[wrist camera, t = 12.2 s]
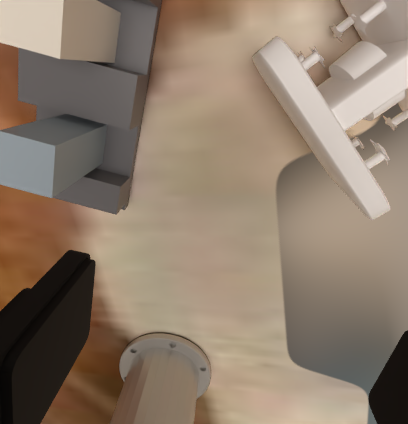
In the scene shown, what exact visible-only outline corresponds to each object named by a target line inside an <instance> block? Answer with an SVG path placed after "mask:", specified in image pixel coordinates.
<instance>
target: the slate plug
mask: <svg viewBox="0 0 408 424" xmlns="http://www.w3.org/2000/svg"><path fill="white" fill-rule="evenodd" d="M106 131H107V124H103V123H99V122H96V121H92V120H88V119H85V118H81V117H77V116H74V115H70V114H63V115H59V116H55V117H51V118H47V119H43V120H39V121H35V122H31V123H27V124H23V125H19V126H15V127H11V128H7V129H3V130H0V184H1V185H4V186H8V187H12V188H16V189H19V190H23V191H27V192H31V193H34V194H38V195H42V196H46V197H49V198H53V197H54V196H56V195H57V194H59V193H60V192H62V191H63V190H65V189H66V188H67V187H69V186H70V185H72V184H73V183H75V182H76V181H78V180H79V179H80V178H82V177H83V176H85V175H86V174H88V173H89V172H91V171H92V170H93V169H95V168H96V167H98V166H99V165H101V164H102V163H103V155H104V147H105V139H106Z"/></svg>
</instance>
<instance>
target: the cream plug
mask: <svg viewBox="0 0 408 424" xmlns="http://www.w3.org/2000/svg"><path fill="white" fill-rule="evenodd" d="M120 16H121V13H120V12H118V11H116V10H115V9H113V8H111V7H109V6H107V5H105V4H103V3H101V2H99V1H97V0H0V43H4V44H8V45H11V46H15V47H19V48H22V49H26V50H29V51H33V52H37V53H40V54H44V55H48V56H51V57H55V58H58V59H68V60H81V61H95V62H109V63H115V56H116V48H117V40H118V32H119V24H120Z"/></svg>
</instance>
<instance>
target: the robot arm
mask: <svg viewBox="0 0 408 424" xmlns="http://www.w3.org/2000/svg"><path fill="white" fill-rule="evenodd" d="M94 275H95V261H94V260H91V259H90V255H89V254H87V253H82V252H78V251H73V250H69V251H67V252H66V253H65V254H64V255H63V257H62V258H61V259H60V260H59V261H58V262H57V263H56V264H55V265H54V266H53V267H52V268H51V269H50V270H49V271H48V272H47V273H46V274H45V275H44V276H43V277H42V278H41V279H40V280H39V281H38V282H37V283H36V284H35V285H34V286H33V287H32V288H31V289H30V288H26V289H23V290H22V291H21V292H19V293H18V294H17V295H16V296H15V297H14V298H13V299H12V300H11V301H10V302H9V303H8V304H7V305H6V306H5V307H4V308H3V309H2V310H1V311H0V424H40V423H41V421H42V419H43V418H44V416H45V414H46V412H47V411H48V409H49V407H50V405H51V403H52V402H53V400H54V398H55V396H56V395H57V393H58V391H59V389H60V387H61V386H62V384H63V382H64V380H65V378H66V377H67V375H68V373H69V371H70V370H71V368H72V366H73V364H74V362H75V361H76V359H77V357H78V355H79V353H80V352H81V350H82V348H83V346H84V345H85V343H86V340H87V338H88V335H89V330H90V319H91V308H92V297H93V286H94ZM119 371H120V374H121V378H122V379H123V381H124V385H123V387H122V390H121V393H120V396H119V399H118V401H117V404H116V407H115V410H114V413H113V416H112V418H111V421H110V424H194V416H195V408H196V399H197V398H199V397H200V396H201V395H202V394H203V393H204V392H205V391H206V390H207V388H208V386H209V383H210V379H211V368H210V363H209V361H208V359H207V357H206V355H205V354H204V353H203V351H202V350H201V349H199V348H198V347H197V346H196V345H195V344H193V343H192V342H190V341H188V340H186V339H184V338H182V337H178V336H175V335H171V334H164V333H160V334H149V335H144V336H142V337H139V338H137V339H135V340H133V341H132V342H131V343H130V344H129V345H127V347H126V348H125V350H124V351H123V354H122V356H121V358H120V363H119ZM369 405H370V408H371V410H372V413H373V415H374V417H375V420H376V422H377V424H408V331H405V332H404V334H403V335H402V337H401V339H400V341H399V342H398V344H397V346H396V348H395V350H394V351H393V353H392V355H391V356H390V358H389V360H388V362H387V363H386V365H385V367H384V368H383V370H382V372H381V374H380V375H379V377H378V379H377V381H376V383H375V384H374V386H373V388H372V389H371V391H370V393H369Z"/></svg>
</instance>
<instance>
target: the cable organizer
mask: <svg viewBox="0 0 408 424" xmlns="http://www.w3.org/2000/svg"><path fill="white" fill-rule="evenodd" d="M340 2H341V4H342V6H343V7H344V9H345V11H346V13H347V14H348V17H347V18H346V19H345V20H343V21H342V22H341V23H340V24H339V25H337V26H335V24H334V26H333V27H331V26H329V27H330V28H331V30H332V31H333V35H334V37H337V38H338V39H339V40H340V41H341V42H342V40H341V37H340V36H341V35H343V34H342V32H344V31H345V30H346V29H348V28H349V27H350V26H351V25H354V27H355V30H357V32H358V34H359V36H360V37H361V39H362V41H360V42H358V43H356V44H355V45H354V46H353V47H352V48H350V49H349V50H348V51H347V52H346V53H344V54H343V55H342V56H341V57H340V58H338V59H337V60H336V61H335V62H334V63H333V64H331V65H330V66H329V73H330V75H331V77H330V78H328V79H327V80H326V81H324V82H323V83H322V84H320V85H319V86H318V87H316V85H315V84H314V82H313V80H312V79H311V77H310V76H309V74H308V73H307V70H308V69H309V68H310V67H312V66H313V65H314V64H315V63H317V62H320V63H321V64H322V65H323V67H324V64H323V61H324V60H325V59H324V58H323V57H322V56H321V55H320V54H319V52H318V51H317V49H316V48H315V46H314V50H312V49H311V48H310V49H311V51H312V52H313V53H312V54H311V55H309V56H308V57H307V58H305V57H304V56H303V54H302V53H301V51H300V54H299V53H298V55H299V57H297V56H296V55H295V53H294V52H293V51H292V49H291V48H290V47H289V46H288V45H287V44H286V43H285V42H284V41H283V40H282V39H281V38H280V37H278V36H275V37H274V38H273V39H272V40H271V41H270V42H268V43H267V44H266V45H265V46H264V47H262V48H261V49H260V50H259V51H258V52H257V53H255V54H254V55H253V56H252V59H253V62H254V64H255V66H256V68H257V70H258V72H259V73H260V75H261V77H262V78H263V80H264V81H265V83H266V84H267V86H268V87H269V89H270V90H271V91H272V93H273V94H274V96H275V97H276V99H277V100H278V102H279V103H280V105H281V106H282V108H283V109H284V111H285V112H286V113H287V115H288V116H289V118H290V119H291V121H292V122H293V124H294V125H295V127H296V128H297V130H298V131H299V133H300V134H301V136H302V137H303V138H304V140H305V141H306V143H307V144H308V146H309V147H310V149H311V150H312V152H313V153H314V155H315V156H316V157H317V159H318V160H319V162H320V163H321V165H322V166H323V168H324V169H325V170H326V172H327V173H328V174H329V176H330V177H331V178H332V179H333V180H334V181H335V183H336V184H337V185H338V186H339V187H340V188H341V189H342V190H343V192H344V193H345V194H346V195H347V196H348V197H349V198H350V199H351V200H352V201H353V203H354V204H355V205H356V206H357V207H358V208H359V209H360V210H361V211H362V212H363V213H364V214H365V216H367V217H368V218H369V219H370V220H374V219H376V218H377V217H379V216H381V215H382V214H384V213H386V212H388V211H389V210H390V205H389V202H388V200H387V198H386V196H385V194H384V192H383V191H382V189H381V187H380V186H379V184H378V183H377V181H376V180H375V178H374V176H373V175H372V173H371V172H370V170H369V169H370V168H372V167H374V166H375V165H377V164H378V163H380V162H381V161H383V160H385V161H386V163H387V164H388V161H387V160H390V159H389V157H388V155H387V153H386V151H385V149H384V148H383V147H382V146H381V145H380V144H378V143H377V144H376V143H375V142H373V141H372V140H371V139H370V141H371V142H372V144H373V145H374V147H375V148H376V154H374V155H373V156H371V157H370V158H368V159H367V160H365V161H363V159H362V158H361V156H360V155H359V153H358V151H357V150H356V148H355V147H356V146H358V145H360V146H361V148H362V149H363V147H364V145H363V144H362V143H361V141H360V140H359V139H358V137H357V138H356V137H355V136H353V135H352V136H353V137H354V139H353V140H350V139H349V137H348V135H347V134H346V132H345V131H346V130H347V129H349V128H350V127H352V126H353V125H355V124H356V123H358V122H359V121H361V120H362V119H365V120H368V121H371V120H373V119H375V118H376V117H378V116H379V115H381V114H382V113H384V112H385V111H386V110H388V109H389V108H391V107H392V106H394V105H395V104H397V103H398V104H399V106H400V108H401V110H402V111H403V112H401V113H400V114H398V115H397V116H395V117H394V118H392V119H390V117H389V118H386V117H384V116H383V115H382V116H383V117H384V119H385V120H386V122H385V123H386V124H387V125H389V126H390V127H391V128H392V129H393V130H394V127H396V128H397V126H396V125H398V124H399V123H401V122H403V121H404V120H406V119H407V118H408V0H340ZM324 68H325V67H324Z"/></svg>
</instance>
